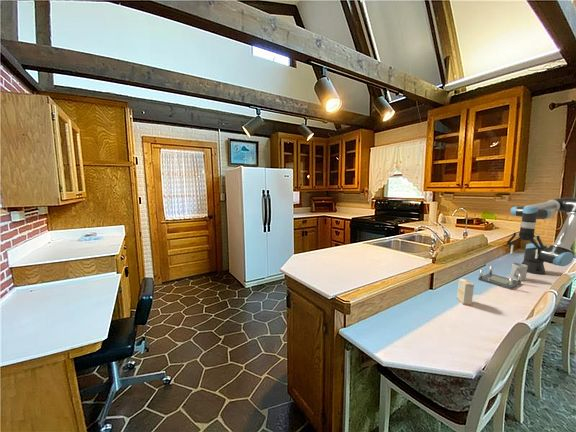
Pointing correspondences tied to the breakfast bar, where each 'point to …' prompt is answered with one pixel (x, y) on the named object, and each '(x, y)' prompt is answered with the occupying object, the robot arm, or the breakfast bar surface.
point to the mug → (519, 271)
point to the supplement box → (465, 291)
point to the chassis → (499, 279)
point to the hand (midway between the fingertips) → (523, 255)
